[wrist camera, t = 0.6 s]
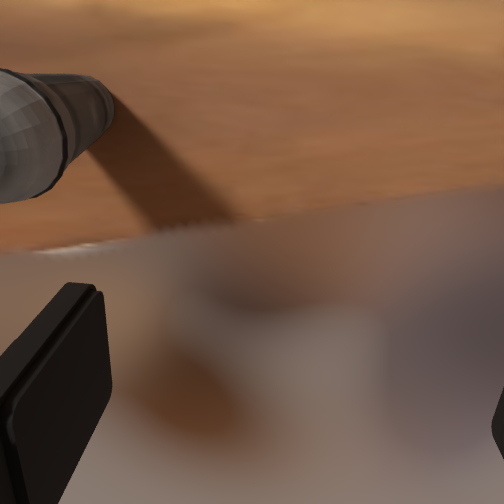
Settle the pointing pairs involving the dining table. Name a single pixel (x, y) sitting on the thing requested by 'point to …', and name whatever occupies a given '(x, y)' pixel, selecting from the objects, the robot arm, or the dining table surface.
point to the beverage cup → (46, 128)
